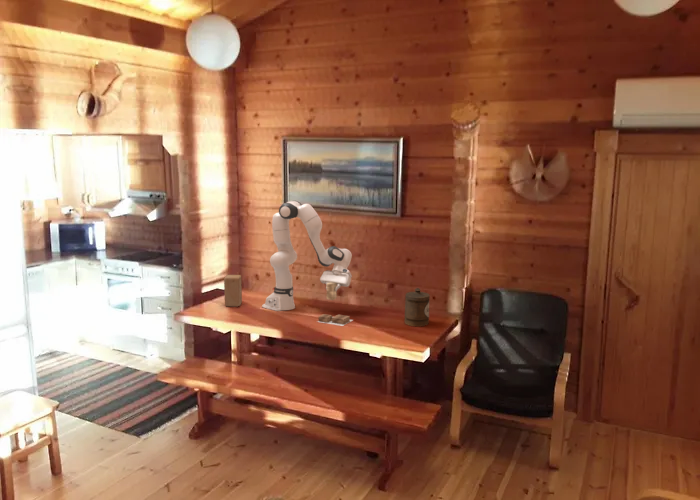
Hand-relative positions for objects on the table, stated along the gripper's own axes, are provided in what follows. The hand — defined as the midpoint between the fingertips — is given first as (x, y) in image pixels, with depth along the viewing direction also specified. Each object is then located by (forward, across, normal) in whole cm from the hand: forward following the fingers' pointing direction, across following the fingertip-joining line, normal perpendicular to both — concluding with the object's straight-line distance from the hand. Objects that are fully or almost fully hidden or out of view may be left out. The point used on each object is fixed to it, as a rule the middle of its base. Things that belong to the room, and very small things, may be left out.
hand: (331, 289), depth 374 cm
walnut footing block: (+20, +3, +3) cm, 20 cm away
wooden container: (+2, +52, +23) cm, 57 cm away
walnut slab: (+18, +12, +5) cm, 22 cm away
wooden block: (+18, -72, +8) cm, 74 cm away
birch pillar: (+4, 0, +5) cm, 6 cm away
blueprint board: (+19, +8, +6) cm, 22 cm away
